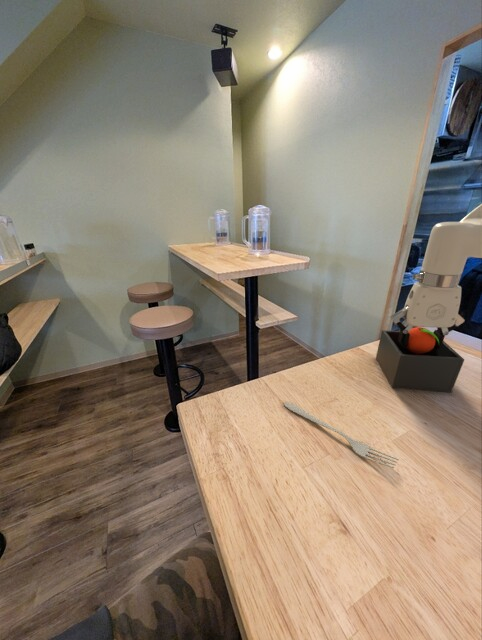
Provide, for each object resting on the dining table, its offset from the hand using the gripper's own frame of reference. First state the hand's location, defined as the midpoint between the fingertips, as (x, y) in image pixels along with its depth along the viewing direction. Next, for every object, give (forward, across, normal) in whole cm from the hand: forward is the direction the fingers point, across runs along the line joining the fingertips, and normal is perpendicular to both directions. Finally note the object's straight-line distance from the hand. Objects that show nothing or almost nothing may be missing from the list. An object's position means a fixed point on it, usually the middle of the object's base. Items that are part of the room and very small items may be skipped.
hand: (418, 345), depth 65 cm
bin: (+9, 0, 0) cm, 9 cm away
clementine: (+3, 0, 0) cm, 3 cm away
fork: (+9, -24, -23) cm, 35 cm away
